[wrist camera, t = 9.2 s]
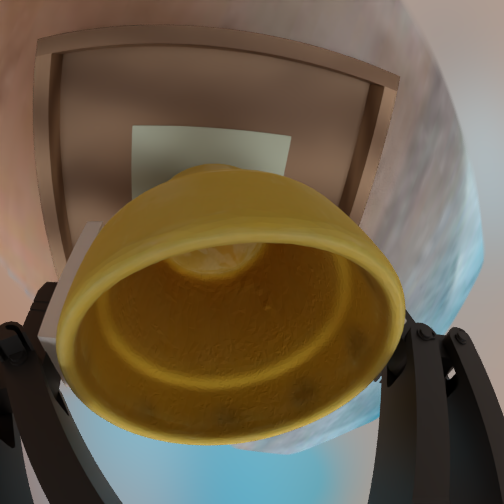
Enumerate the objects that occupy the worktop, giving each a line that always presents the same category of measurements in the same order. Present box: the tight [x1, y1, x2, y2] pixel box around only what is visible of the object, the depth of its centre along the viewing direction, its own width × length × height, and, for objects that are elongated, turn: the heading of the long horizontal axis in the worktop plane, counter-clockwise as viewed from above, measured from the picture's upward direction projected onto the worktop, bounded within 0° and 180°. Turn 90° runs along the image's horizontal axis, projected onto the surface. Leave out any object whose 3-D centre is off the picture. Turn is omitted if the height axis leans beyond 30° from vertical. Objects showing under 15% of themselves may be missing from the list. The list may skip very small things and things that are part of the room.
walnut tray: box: [33, 25, 400, 281], centre depth 17 cm, size 20×20×2 cm
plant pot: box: [56, 164, 405, 445], centre depth 11 cm, size 10×10×10 cm
